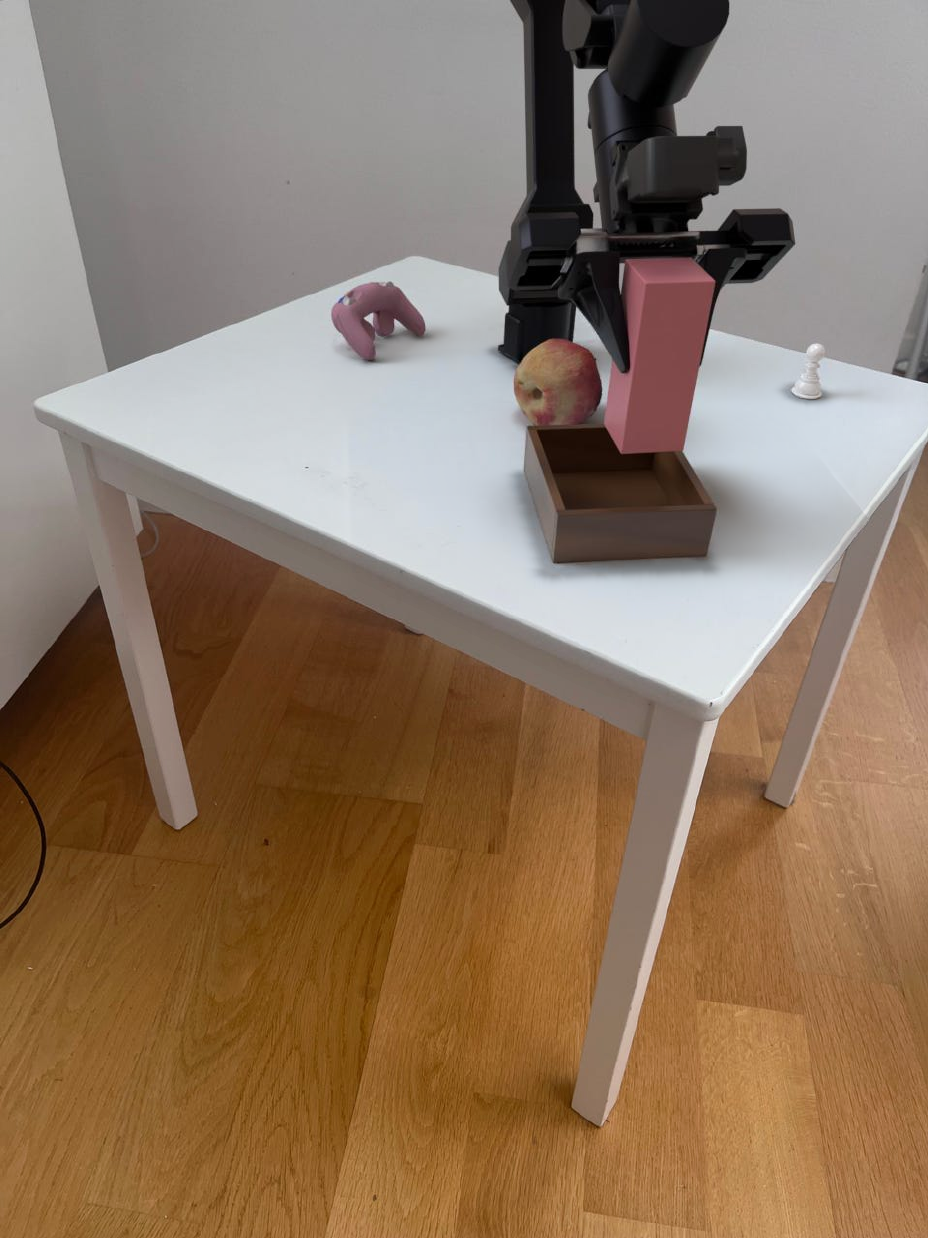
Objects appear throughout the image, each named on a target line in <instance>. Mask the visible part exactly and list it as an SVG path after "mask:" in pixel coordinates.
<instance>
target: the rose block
mask: <svg viewBox="0 0 928 1238" xmlns="http://www.w3.org/2000/svg"><path fill="white" fill-rule="evenodd" d="M621 281H622V282H621V288H620V294H621V299H622V305H623V310H624V316H625V322H626V327H627V333H628V338H629V349H630V370H629V371H628V372H627V373H624V374H622V373H621V372H620V371H619V369H618V368H617V366H616V364H615V363H614V361H613V359H612V358H611V365H610V366H611V368H610V376H609V382H608V392H607V398H606V404H605V405H606V406H605V414H604V421H603V424H604V425H605V427H606V428H607V430H608V432H609V434H610V435H611V437H612V439H613V441H614V442H615V444H616V446H617V448H618V449H619V451H620V453H621V454H632V453H651V452H669V451H684V450H685V449H684V448H685V443H686V439H687V433H688V428H689V423H690V418H691V412H692V407H693V401H694V397H695V391H696V387H697V380H698V376H699V370H700V367H701V366H700V360H701V355H702V350H703V345H704V339H705V334H706V329H707V324H708V318H709V313H710V308H711V303H712V297H713V292H714V287H715V280H714V279H713V278H712V277H711V276H710V275H709V274H708V273H707V272H706V271H705V270H704V269H702V268H701V267H700V266H699V265H698V264H697V263H696V262H695V261H694V260H693V259H692V258H654V259H626V260H625V263H624V264H623V273H622V280H621ZM699 366H700V367H699Z"/></svg>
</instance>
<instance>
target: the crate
mask: <svg viewBox="0 0 928 1238" xmlns="http://www.w3.org/2000/svg"><path fill="white" fill-rule="evenodd" d="M525 427H526V429H525V442H524V455H523V456H524V457H523V468H522V469H523V474H524V476H525V480H526V484H527V486H528V487H527V488H528V490H529V493H530V495H531V499H532V502H533V505H534V508H535V512H536V516H537V518H538V521H539V524H540V527H541V530H542V533H543V536H544V540H545V543H546V546H547V549H548V553H549V555H550V558H551V562H552V564H569V563H570V564H572V563H574V564H575V563H592V562H593V563H594V562H615V561H636V560H659V559H661V560H662V559H679V558H680V559H683V558H701V557H702V558H703V557H707V556H708V553H709V547H710V544H711V540H712V539H711V538H712V534H713V530H714V525H715V520H716V516H717V511H718V508H717V506H716V505H715V503H714V501H713V499H712V498H711V496H710V494H709V493H708V491H707V489H706V488H705V486H704V484H703V483H702V481H701V479H700V478H699V476H698V474H697V473H696V471H695V470H694V468H693V466H692V465H691V463H690V461H689V459H688V458H687V456H686V454H685V453H684V452H683V451H684V450H683V451H669V452H651V453H632V454H621V453H620V451H619V449H618V448H617V446H616V444H615V442H614V441H613V439H612V437H611V435H610V434H609V432H608V430H607V428H606V427H605V425H604V423H580V424H574V425H541V426H535V425H526V426H525Z"/></svg>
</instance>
